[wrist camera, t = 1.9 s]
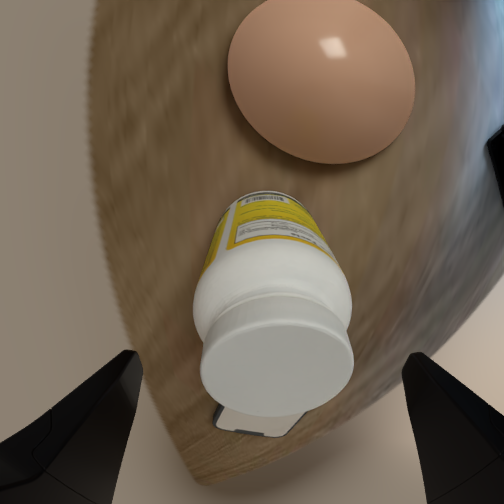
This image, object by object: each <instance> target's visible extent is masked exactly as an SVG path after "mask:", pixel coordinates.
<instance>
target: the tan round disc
mask: <svg viewBox="0 0 504 504" xmlns="http://www.w3.org/2000/svg"><path fill="white" fill-rule="evenodd" d="M228 78H229V83H230V87H231V91H232V93H233V96H234V98H235V101H236V103H237V105H238V107H239V109H240V110H241V112H242V114H243V115H244V117H245V118H246V119H247V121H248V122H249V123H250V125H251V126H252V127H253V128H254V129H255V130H256V131H257V132H258V133H259V134H260V135H261V136H263V137H264V138H265V139H266V140H267V141H269V142H270V143H271V144H273V145H275V146H276V147H278V148H279V149H281V150H283V151H285V152H287V153H289V154H291V155H293V156H296V157H299V158H301V159H304V160H308V161H313V162H317V163H326V164H343V163H350V162H355V161H359V160H363V159H366V158H368V157H370V156H373V155H375V154H377V153H378V152H380V151H381V150H383V149H385V148H386V147H387V146H388V145H389V144H391V143H392V142H393V141H394V140H395V139H396V138H397V137H398V135H399V134H400V133H401V131H402V130H403V128H404V127H405V125H406V123H407V121H408V119H409V117H410V114H411V111H412V108H413V104H414V98H415V78H414V72H413V67H412V63H411V61H410V58H409V55H408V53H407V51H406V49H405V47H404V45H403V43H402V41H401V40H400V38H399V37H398V35H397V34H396V32H395V31H394V30H393V29H392V28H391V27H390V25H389V24H388V23H387V22H386V21H385V20H384V19H382V18H381V17H380V16H379V15H378V14H377V13H375V12H374V11H373V10H371V9H370V8H368V7H366V6H365V5H363V4H361V3H360V2H358V1H355V0H268V1H266V2H264V3H263V4H261V5H260V6H258V7H257V8H255V9H254V10H253V11H252V12H251V13H250V14H249V15H248V16H247V17H246V18H245V19H244V20H243V22H242V23H241V24H240V26H239V28H238V29H237V31H236V33H235V35H234V37H233V40H232V42H231V45H230V50H229V54H228Z"/></svg>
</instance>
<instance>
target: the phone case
mask: <svg viewBox="0 0 504 504" xmlns="http://www.w3.org/2000/svg"><path fill="white" fill-rule="evenodd" d="M307 412H308V411H306V412H303V413H300V414H295V415H290V416H284V417H256V416H250V415H245V414H242V413H239V412H236V411H233V410H231V409H229V408H227V407H225V406H223V405H221V404H220V403H219V405H218V407H217V409H216V411H215V413H214V415H213V425H214V426H215V427H216V428H218V429H221V430H226V431H231V432H237V433H243V434H250V435H257V436H264V437H273V438H278V437H282V436H285V435H286V434H287V433H288V432H289V431H290V430H291V429H292V428H293V427H294V426H295V425H296V424H297V423H298V422H299V420H300V419H301V418H302V417H303V416H304V415H305V414H306V413H307Z"/></svg>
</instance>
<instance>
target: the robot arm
mask: <svg viewBox="0 0 504 504" xmlns="http://www.w3.org/2000/svg"><path fill="white" fill-rule="evenodd" d="M492 145H493V146H492ZM487 146H488V150H489V153H490V156H491V159H492V162H493V165H494V169H495V172H496V176H497V180H498V183H499V187H500V192H501V196H502V200H503V205H504V125H502V127H501V129H500V130H499V131H498V132H497V133H495V134H494V135H493V136H492V137H491V138H490V139H489V140H488V142H487ZM142 376H143V367H142V364H141V361H140V358H139V355H138V353H137V352H136V351H133V350H123V351H122V352H121V353H120V354H118V355H117V356H116V357H115V358H113V359H112V360H111V361H109V362H108V363H107V364H106V365H104V366H103V367H102V368H101V369H99V370H98V371H97V372H96V373H95V374H93V375H92V376H91V377H90V378H88V379H87V380H86V381H84V382H83V383H82V384H81V385H79V386H78V387H77V388H76V389H74V390H73V391H72V392H71V393H69V394H68V395H67V396H66V397H64V398H63V399H62V400H61V401H59V402H58V403H57V404H56V405H54V406H53V407H52V409H49V410H48V411H47V412H45V413H44V414H43V415H42V416H40V417H39V418H38V419H36V420H35V421H34V422H32V423H31V424H29V425H28V426H26V427H25V428H24V429H22V430H20V431H19V432H17V433H15V434H14V435H12V436H11V437H9V438H7V439H6V440H4V441H2V442H1V443H0V504H112V500H113V495H114V491H115V487H116V483H117V479H118V474H119V470H120V467H121V462H122V459H123V456H124V452H125V448H126V445H127V441H128V437H129V434H130V430H131V427H132V423H133V420H134V417H135V413H136V408H137V402H138V397H139V392H140V387H141V381H142ZM402 379H403V385H404V390H405V396H406V402H407V408H408V413H409V417H410V421H411V425H412V429H413V433H414V437H415V441H416V446H417V450H418V455H419V459H420V465H421V470H422V475H423V481H424V486H425V493H426V500H427V504H504V416H503V415H502V414H501V413H499V412H498V411H497V410H495V409H494V408H493V407H492V406H490V405H488V403H486V402H485V401H484V400H483V399H482V398H480V397H479V396H478V395H476V394H475V393H474V392H473V391H471V390H470V389H469V388H468V387H466V386H465V385H464V384H462V383H461V382H460V381H459V380H457V379H456V378H455V377H454V376H452V375H451V374H449V373H448V372H447V371H445V370H444V369H443V368H442V367H441V366H439V365H438V364H437V363H435V362H434V361H433V360H431V359H430V358H429V357H427V356H426V355H425V354H424V353H422V352H416V353H411V354H410V355H409V357H408V359H407V361H406V363H405V365H404V367H403V369H402Z"/></svg>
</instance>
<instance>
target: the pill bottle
mask: <svg viewBox="0 0 504 504" xmlns="http://www.w3.org/2000/svg"><path fill="white" fill-rule="evenodd" d="M351 312H352V299H351V294H350V290H349V286H348V283H347V280H346V278H345V275H344V273H343V271H342V270H341V268H340V266H339V264H338V263H337V261H336V259H335V257H334V255H333V253H332V252H331V250H330V248H329V246H328V244H327V242H326V241H325V239H324V237H323V236H322V234H321V232H320V230H319V229H318V227H317V225H316V223H315V222H314V220H313V218H312V216H311V215H310V213H309V212H308V211H307V210H306V208H305V207H304V206H303V205H302V204H301V203H300V202H298V201H297V200H296V199H294V198H292V197H290V196H288V195H286V194H283V193H280V192H276V191H259V192H254V193H250V194H247V195H245V196H243V197H241V198H239V199H238V200H236V201H235V202H234V203H232V204H231V205H230V206H229V207H228V208H227V209H226V211H225V212H224V214H223V215H222V217H221V219H220V221H219V223H218V225H217V228H216V231H215V234H214V237H213V240H212V243H211V245H210V248H209V251H208V254H207V257H206V260H205V263H204V266H203V269H202V272H201V275H200V278H199V281H198V284H197V287H196V290H195V295H194V301H193V317H194V323H195V327H196V329H197V332H198V334H199V336H200V338H201V340H202V341H203V343H204V344H203V351H202V357H201V363H200V376H201V380H202V383H203V385H204V387H205V389H206V391H207V392H208V393H209V394H210V396H211V397H212V398H213V399H215V400H216V401H217V402H219V403H220V404H221V405H223V406H225V407H227V408H229V409H231V410H233V411H236V412H239V413H242V414H245V415H250V416H256V417H284V416H290V415H295V414H300V413H303V412H306V411H309V410H312V409H314V408H317V407H319V406H321V405H323V404H324V403H326V402H328V401H329V400H331V399H332V398H333V397H335V396H336V395H337V394H338V393H339V392H340V391H341V390H342V389H343V388H344V387H345V386H346V384H347V383H348V381H349V379H350V377H351V375H352V372H353V367H354V357H353V352H352V348H351V345H350V342H349V338H348V335H347V332H346V331H347V328H348V325H349V323H350V318H351Z"/></svg>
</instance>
